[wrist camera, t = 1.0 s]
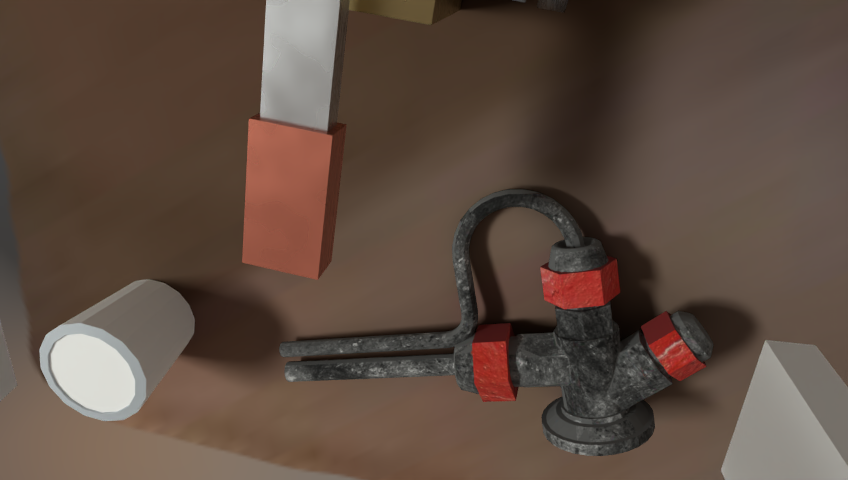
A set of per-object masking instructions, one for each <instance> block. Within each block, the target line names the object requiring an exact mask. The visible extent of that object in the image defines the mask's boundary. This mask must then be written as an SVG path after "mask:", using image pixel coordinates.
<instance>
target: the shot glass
mask: <svg viewBox="0 0 848 480" xmlns="http://www.w3.org/2000/svg"><path fill="white" fill-rule="evenodd" d="M194 328H195V319H194V316H193V313H192V310H191V308H190V305H189V304H188V303H187V302H186V300H185V299H184V298H183V297H182V295H181V294H180V293H179V292H178V291H176V290H175V289H173V288H171V287H170V286H168V285H167V284H165V283H162V282H158V281H154V280H151V279H148V280H139V281H135V282H133V283H131V284H129V285H128V286H126V287H124V288H123V289H121V290H119V291H118V292H116V293H114V294H112V295H111V296H109V297H107V298H106V299H104V300H102V301H101V302H99V303H97V304H96V305H94V306H92V307H90V308H89V309H87V310H85V311H84V312H82V313H80V314H79V315H77V316H75V317H73V318H72V319H70V320H68V321H67V322H65V323H63V324H62V325H60V326H58V327H57V328H55V329H54V330H52V331H51V332H49V333H48V334H46V336H45V339H44V341H43V343H42V345H41V347H40V364H41V370H42V372H43V374H44V376H45V378H46V380H47V382H48V384H49V386H50V388H51V389H52V390H53V391H54V392H55V393H56V394H57V395H58V396H59V397H60V398H61V400H62V401H63V402H64V403H65V404H67V405H68V406H70V407H72V408H73V409H75V410H76V411H78V412H80V413H81V414H83V415H85V416H88V417H92V418H96V419H99V420H102V421H114V420H124V419H126V418H128V417H129V416H131V415H133V414H135V413H137V412H138V411H139V410H140V408H141V407H142V405H143V404H144V403H145V401H146V400H147V399H148V397H149V396H150V395H151V393H152V392H153V391H154V389H155V388H156V386H157V385H158V384H159V382H160V381H161V380H162V378H163V377H164V376H165V374H166V373H167V371H168V370H169V369H170V367H171V366H172V365H173V363H174V362H175V361H176V359H177V358H178V357H179V355H180V354H181V352H182V351H183V350H184V348H185V347H186V346H187V344H188V343H189V341H190V339H191V338H192V336H193V334H194Z"/></svg>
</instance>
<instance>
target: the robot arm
mask: <svg viewBox="0 0 848 480" xmlns="http://www.w3.org/2000/svg"><path fill="white" fill-rule="evenodd" d="M16 386H17V382H16V378H15V374H14V371H13V367H12V363H11V359H10V355H9V352H8V348H7V344H6V340H5V337H4V333H3V329H2V325H1V321H0V401H1V400H2V399H3V398H4V397H5V396H7V395H8V394H9V393H10V392H11V391H12V390H13V389H14V388H15V387H16ZM721 471H722V474H723V476H724V479H725V480H848V387H847V386H846V384H845V383H844V382H843V381H842V379H841V378H840V377H839V375H838V374H837V373H836V371H835V370H834V369H833V367H832V366H831V365H830V364H829V362H828V361H827V360H826V358H825V357H824V356H823V354H822V353H821V352H820V350H819V349H818V348H817V347H816V345H808V344H798V343H789V342H779V341H770V340H765V343H764V346H763V349H762V352H761V355H760V357H759V360H758V363H757V366H756V369H755V372H754V375H753V378H752V381H751V384H750V387H749V390H748V393H747V396H746V398H745V401H744V404H743V407H742V410H741V413H740V416H739V419H738V422H737V425H736V428H735V431H734V434H733V437H732V439H731V442H730V445H729V448H728V451H727V454H726V457H725V460H724V463H723V466H722V469H721Z"/></svg>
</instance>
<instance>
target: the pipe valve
mask: <svg viewBox="0 0 848 480" xmlns="http://www.w3.org/2000/svg"><path fill="white" fill-rule="evenodd" d="M514 1H519V2H526V0H514ZM461 2H462V0H350V3H349V10H353V11H359V12H364V13H370V14H375V15H380V16H386V17H391V18H396V19H402V20H407V21H412V22H418V23H423V24H428V25H432V24H434V23H436V22H438V21H440V20H442V19H444V18H446V17H448V16H450V15H451V14H453V13H455V12H457V11H459V10H460V8H461ZM567 2H568V0H538V4H537V8H541V9H547V10H552V11H558V12H563V13H564V11H565V9H566V6H567Z"/></svg>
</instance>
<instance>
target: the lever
mask: <svg viewBox="0 0 848 480" xmlns="http://www.w3.org/2000/svg"><path fill="white" fill-rule="evenodd" d="M349 3H350V0H266V17H265V36H264V54H263V73H262V92H261V110H260V113H259V114H257V115H255V116H253V117H251V118H249V130H248V152H247V173H246V195H245V216H244V238H243V259H242V263H247V264H251V265H255V266H260V267H264V268H269V269H273V270H277V271H282V272H286V273H290V274H295V275H299V276H303V277H308V278H312V279H316V280H318V279H319V277H320V276H321V275H322V273H323V272H324V271H325V269H326V268H327V266H328V265H329V264H330V262H331V260H332V251H333V242H334V233H335V224H336V215H337V206H338V197H339V188H340V178H341V169H342V160H343V151H344V142H345V133H346V124H341V123H337V118H338V108H339V99H340V89H341V79H342V70H343V60H344V51H345V41H346V32H347V22H348V12H349Z"/></svg>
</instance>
